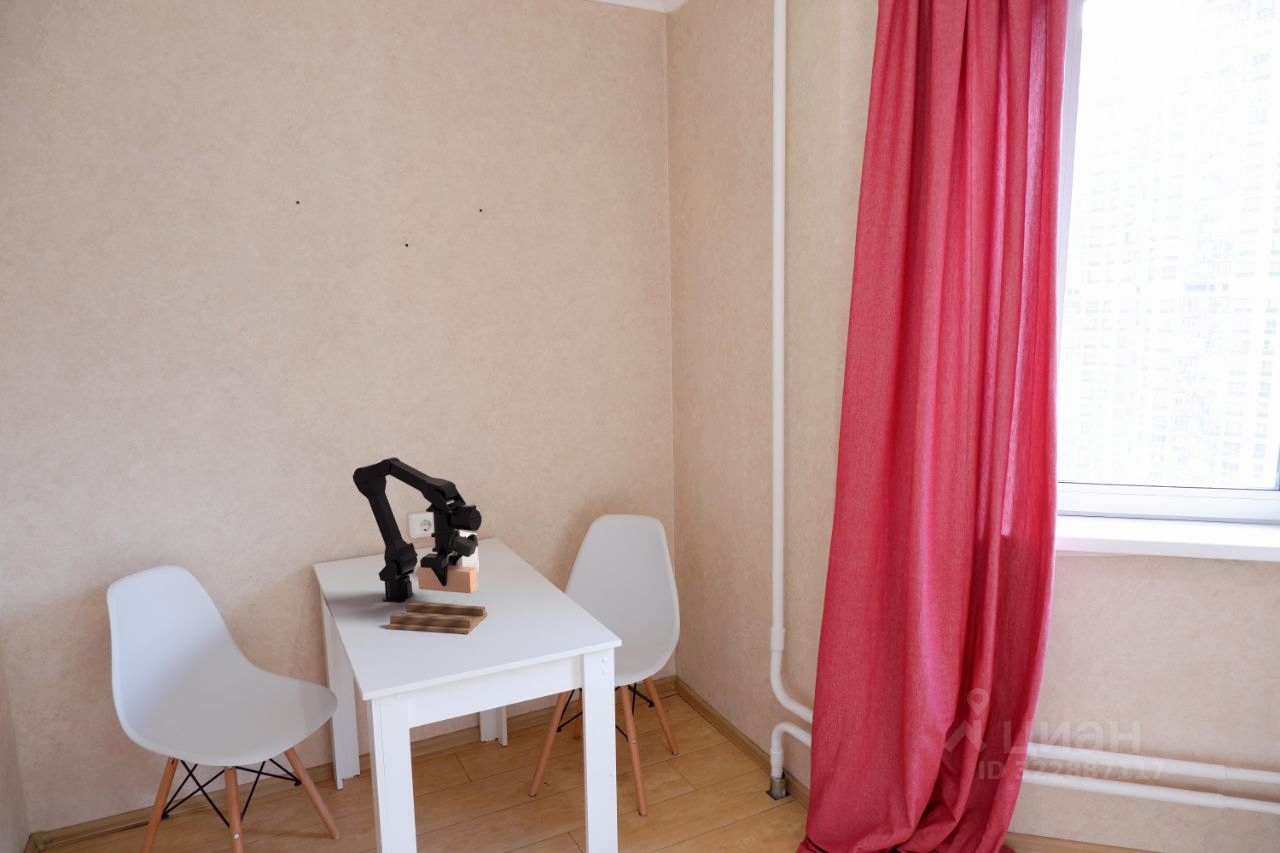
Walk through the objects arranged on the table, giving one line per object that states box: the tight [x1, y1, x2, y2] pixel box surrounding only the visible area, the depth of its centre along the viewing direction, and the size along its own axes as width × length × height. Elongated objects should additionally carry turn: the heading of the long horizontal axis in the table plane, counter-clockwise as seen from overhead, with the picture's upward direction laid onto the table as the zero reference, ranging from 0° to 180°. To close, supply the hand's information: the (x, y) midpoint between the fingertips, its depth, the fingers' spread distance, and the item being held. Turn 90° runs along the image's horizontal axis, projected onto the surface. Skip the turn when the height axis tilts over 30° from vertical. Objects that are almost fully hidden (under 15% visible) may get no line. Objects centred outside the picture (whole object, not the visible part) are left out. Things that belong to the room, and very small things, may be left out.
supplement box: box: [457, 530, 480, 574], centre depth 234 cm, size 7×7×13 cm
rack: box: [387, 601, 489, 635], centre depth 196 cm, size 22×12×3 cm, turn 78°
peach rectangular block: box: [417, 566, 479, 595], centre depth 207 cm, size 16×4×6 cm, turn 74°
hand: (448, 583), depth 207 cm, fingers closed on peach rectangular block, 4 cm apart
